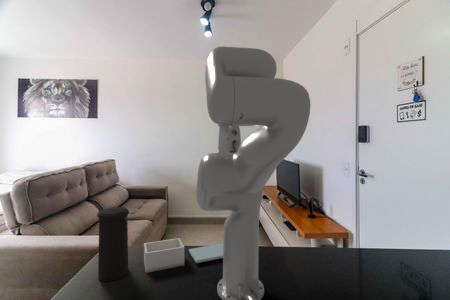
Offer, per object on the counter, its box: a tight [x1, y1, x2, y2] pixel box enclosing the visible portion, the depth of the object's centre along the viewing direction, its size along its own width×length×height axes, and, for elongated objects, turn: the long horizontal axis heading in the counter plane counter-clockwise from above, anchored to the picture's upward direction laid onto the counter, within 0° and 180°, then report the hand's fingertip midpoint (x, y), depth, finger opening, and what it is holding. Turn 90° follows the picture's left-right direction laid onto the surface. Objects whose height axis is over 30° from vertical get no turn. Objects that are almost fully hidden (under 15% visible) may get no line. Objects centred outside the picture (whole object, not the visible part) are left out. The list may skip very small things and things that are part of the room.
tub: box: [143, 237, 185, 273], centre depth 78 cm, size 8×12×6 cm, turn 113°
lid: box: [188, 242, 223, 264], centre depth 84 cm, size 9×16×8 cm, turn 113°
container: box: [96, 206, 130, 282], centre depth 71 cm, size 9×9×20 cm
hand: (228, 170), depth 83 cm, fingers open, 9 cm apart
